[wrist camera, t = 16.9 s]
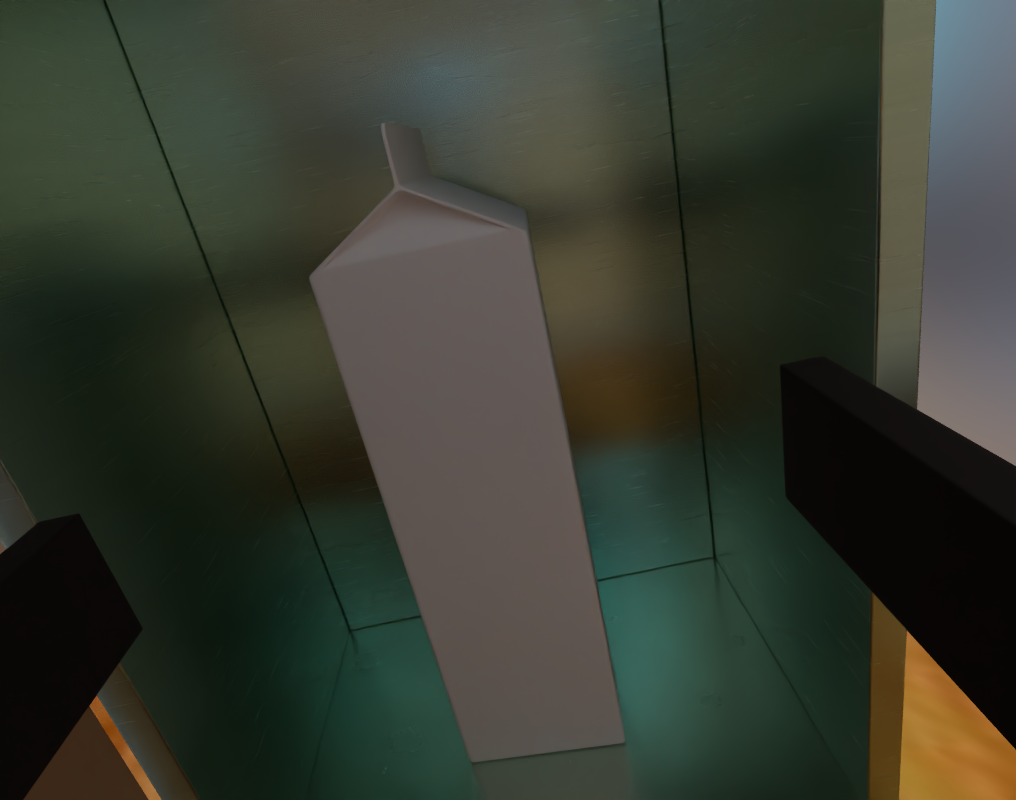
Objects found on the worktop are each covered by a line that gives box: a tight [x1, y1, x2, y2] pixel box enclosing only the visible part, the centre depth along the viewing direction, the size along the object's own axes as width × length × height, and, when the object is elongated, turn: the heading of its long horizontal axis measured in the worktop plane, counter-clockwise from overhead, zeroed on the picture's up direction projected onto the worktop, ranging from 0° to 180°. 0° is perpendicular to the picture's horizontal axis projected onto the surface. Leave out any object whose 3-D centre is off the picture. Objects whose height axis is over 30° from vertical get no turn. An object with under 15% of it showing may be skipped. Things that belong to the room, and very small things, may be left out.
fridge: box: [0, 0, 936, 800], centre depth 20 cm, size 14×21×34 cm, turn 93°
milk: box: [309, 123, 625, 762], centre depth 22 cm, size 6×6×22 cm
